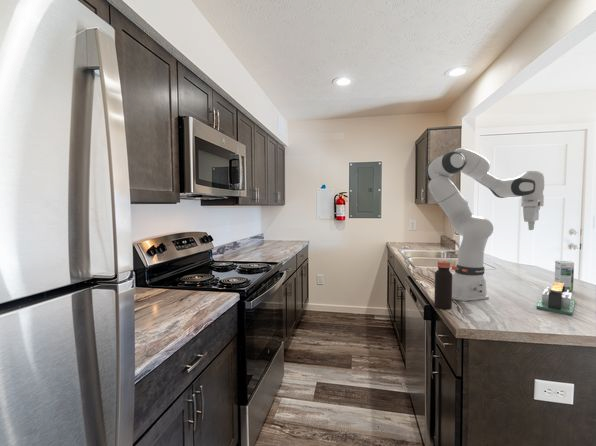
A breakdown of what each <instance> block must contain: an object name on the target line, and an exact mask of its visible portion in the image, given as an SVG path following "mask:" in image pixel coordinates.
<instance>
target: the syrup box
mask: <svg viewBox="0 0 596 446" xmlns="http://www.w3.org/2000/svg"><path fill="white" fill-rule="evenodd" d="M554 261H555V262H554V263H555V264H554V282H560V283H564V285H565V291H567V290H569V291H574V279H575V278H574V276H575V275H574V273H575V272H574V271H575V262H573V261H571V260H554Z"/></svg>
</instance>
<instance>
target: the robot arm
mask: <svg viewBox="0 0 596 446" xmlns="http://www.w3.org/2000/svg"><path fill="white" fill-rule="evenodd" d="M490 168H491V163H490V160H489V159H487V158H486V157H485V156H484V155H481V154H479V153H477V152H475V151H473V150H470V149H466V148H463V147H460V148H457V149H455V150H454V151H449V152H447V153H445V154H443V155H441V156H438V157H436V158H434V160H432V161H430V162H429V163H428V164H427V166H426V167H425V170H424V171H425V175H426V178H427V180H428V181H429V182H428V185H427V187H428V190H429V192H430V194H431V196H432V197H433V199H434V200H435V202H436V203H437V204H438V205H439V207H440V208H441V210H442V211H443V212H444V213H445V215H446V216H447V218H448V220H449V222H450V224H451V225H452V228H453V232H455V233H456V234H457V235H459V236H461V237H462V240H461V243H460V246H459V247H458V250H457V264H456V266H454V265H452V266H450V269H451V271H454V273H452V300H456V301H461V302H467V301H479V300H489V298H490V297H489V295H488V293H487V292H488V291H487V280H486V278H485V276H484V274H485V271H486V270H485V266H484V264H485V263H484V262H485V261H484V259H485V249H486V245H487V242H488V240H489V238H490V237H491V236H492V234H493V233H494V225H493V223H492V222H491V220H489V219H487V218H485V217H483V216H480V215H479V216H478V215H474V214H473V212H472V211H471V209H470V207H469V203H468V200H467V199H466V198H465V196H464V195H463V194H462V192H461V191H460V190H459V189H458V187H457V186H456V185H455V184H454V182H453V181H452V176H454V175H455V174H458V173H459V172H461V173H463V174H464V175H466V176H469V177H470V178H471V179H473V180H475V181H476V182H478V183H479V184H481V185H483V186H484V187H486V188H487V189H488V190H489V191H491V193H492V194H493V195H494V196H495V197H496V198H499V199H504V198H505V199H506V198H515V197H516V198H518V197H521V201H520V202H521V205H520V206H521V207H522V213H523V221H524V222H525V223H527V225H528V231H534V229H535V225H536V223H535V222H536V221H539V216H540V215H539V214H540V212H539V211H540V210H541V207H544V205H545V204H544V200H545V199H544V198H545V196H544V190H545V176H544V173H543V172H541V171H539V170H538V171H537V170H527V171H525V172H524V173H522V174H521V175H519V176H516V177H513V178H506V179H504V178H503V179H501V178H497V177H496V176H494V175H493V174H490V173H489V170H490Z"/></svg>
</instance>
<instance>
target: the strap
mask: <svg viewBox="0 0 596 446" xmlns="http://www.w3.org/2000/svg"><path fill="white" fill-rule="evenodd" d="M563 286H564V283H560V282H555V281H554V282H553V285H552V286H551V288H549V292H551V293H555V294H562V289H563Z"/></svg>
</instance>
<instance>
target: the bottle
mask: <svg viewBox="0 0 596 446" xmlns="http://www.w3.org/2000/svg"><path fill="white" fill-rule="evenodd" d="M450 269H451V261H446V260H437V270H436V271H435V273H434V300H433V301H434V307H435V308H437V309H440V310H452V306H453V305H452V304H453V299H452V275H453V273H452V271H450Z"/></svg>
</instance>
